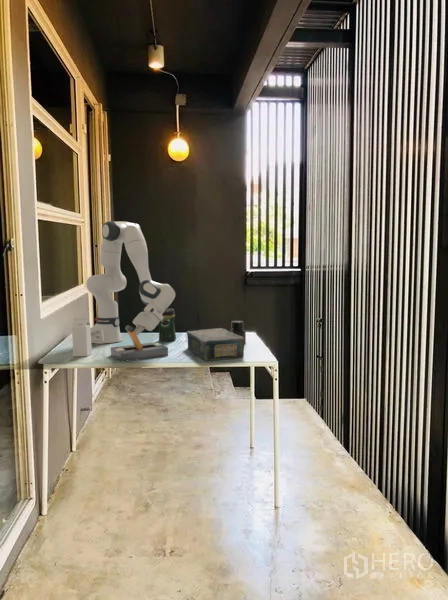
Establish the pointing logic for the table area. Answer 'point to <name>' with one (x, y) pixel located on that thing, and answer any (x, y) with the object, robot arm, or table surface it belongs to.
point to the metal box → (215, 344)
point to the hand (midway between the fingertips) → (135, 334)
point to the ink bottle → (238, 329)
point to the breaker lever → (133, 337)
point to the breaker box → (139, 351)
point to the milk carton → (81, 337)
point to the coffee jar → (167, 326)
